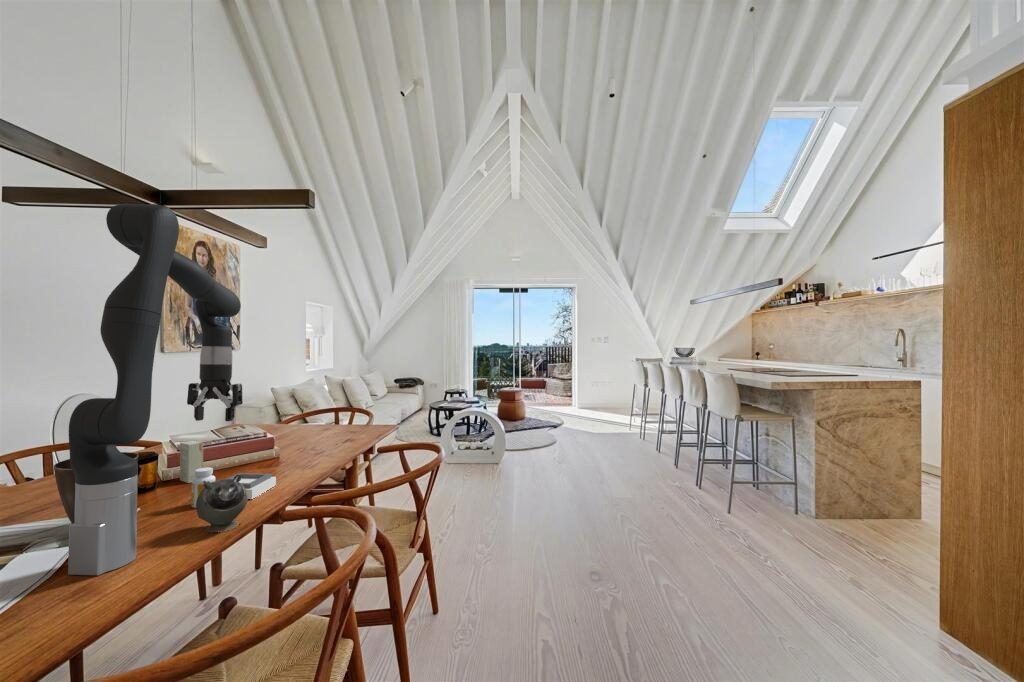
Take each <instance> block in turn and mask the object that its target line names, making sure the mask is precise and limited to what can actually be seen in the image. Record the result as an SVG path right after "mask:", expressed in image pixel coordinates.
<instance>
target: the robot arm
mask: <svg viewBox="0 0 1024 682" xmlns="http://www.w3.org/2000/svg"><path fill="white" fill-rule="evenodd" d="M105 220H106V226H107V229H108V231H109V233H110V234H111V236H112V237H113V238H114V239H115V240H116V241H117V242H118V243H119V244H121V245H122V246H123V247H126V248H127V249H128V250H129V251H132V252H133V253H134V254H136V255H138V256H139V257H138V259H137V262H136V264H135V265H134V266H133V268H132V269H131V270H130V272H129V273H128V274H127V275H126V276H125V277H124V278H123V280H122V281H120V282H119V283H118V285H116V287H115V288H113V290H112V291H111V293H110V294H109V295H108V297H107V298H106V300H105V304H104V305H103V306H104V307H103V312H102V317H101V321H100V336H101V340H102V342H103V345H104V346H105V348H106V351H107V352H108V354H109V356H110V358H111V359H112V362H113V364H114V367H115V370H116V374H117V375H116V376H117V379H116V382H117V384H116V391H115V392H116V393H115V397H114V398H113V397H107V398H106V397H95V398H88V399H86V400H84V401H82V402H80V403H79V404H77V405H76V406H75V408H74V410H73V411H72V412H71V416H70V418H69V422H68V447H69V448H68V449H69V450H68V451H69V459H70V465H71V469H72V471H73V472H74V474H75V482H76V483H75V523H73V524H72V523H71V524H70V525H69V526H68V559H67V561H68V568H67V574H68V575H73V576H74V575H75V576H100V575H102V574H104V573H107V572H110V571H114V570H116V569H119V568H122V567H124V566H126V565H129V564H130V563H132V561H134V560H135V559H136V558H137V541H138V540H137V536H138V535H137V531H138V530H137V528H138V527H137V526H138V524H137V523H138V521H137V520H138V481H139V480H138V476H139V475H138V472H139V464H138V463H139V462H138V463H137V461H136V460H135V459H133V458H131V457H128V456H126V455H124V454H123V453H121V452H122V451H120V450H119V449H118V447H117V446H123V445H132V444H133V445H134V444H135V443H137V442H139V440H140V439H142V438H143V437H144V435H145V433H146V431H147V429H148V428H149V423H150V418H151V412H152V411H151V410H152V409H151V407H152V390H153V389H152V386H153V385H152V383H153V369H154V359H155V354H156V348H157V342H158V337H159V330H160V325H161V319H162V312H163V304H164V303H163V302H164V298H165V291H166V286H167V282H168V277H169V278H170V280H171V279H172V281H174V282H175V283H176V284H177V285H178V286H179V287H180V288H181V289H182V290H183V291H184V292H185V293H187V295H188V296H189V297H191V298H192V299H193V300H195V302H194V303H195V304H194V305H195V311H196V314H197V317H198V322H199V325H200V329H201V336H202V337H201V349H200V353H199V354H200V355H199V379H200V383H199V382H193V383H192V382H191V383H189V384H188V387H187V398H186V399H187V400H186V405H188V406H190V405H191V406H193V408H194V411H193V413H194V414H193V418H194V420H195V421H196V422H197V421H198V422H199V421H203V420H204V419H205V418H204V416H205V404H206V403H207V402H208V401H209V400H213V399H214V400H220V401H221V402H222V403H223V404H224V405H225V407H226V408H225V412H224V413H225V416H224V417H225V419H224V420H225V422H232V421H233V420H234V419H235V412H236V407H238V406H241V405H243V384H242V383H233V384H232V383H231V381H232V377H233V376H232V375H233V349H232V347H233V346H232V344H233V330H232V328H231V327H229V326H227V325H222V324H219V323H218V321H217V318H233V317H235V316H236V315H238V314H239V313H240V311H241V309H242V308H241V307H242V306H241V301H240V298H239V297H238V296H237V294H236V293H235V292H234V291H232V290H231V289H230V288H228V287H227V286H225V285H224V284H221V283H220V282H218V281H216V280H215V279H214V278H213V277H212V276H211V274H210V273H209V272H208V271H207V270H206V269H205V268H204V267H203V266H201V265H200V264H199V263H198V262H196V261H194V260H193V259H191V258H190V257H188V256H186V255H184V254H182V253H180V252H178V251H176V248H177V244H178V241H179V234H180V223H179V220H178V217H177V215H176V213H175V212H174V211H173V209H171V208H169V207H167V206H166V205H160V204H146V203H145V204H142V203H139V204H138V203H121V204H116V205H114V206H112V207H110V209H109V210H108V212H107V213H106V218H105ZM199 391H200V393H199ZM230 391H231V392H232V393H231V392H230Z"/></svg>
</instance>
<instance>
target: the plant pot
mask: <svg viewBox="0 0 1024 682" xmlns="http://www.w3.org/2000/svg"><path fill="white" fill-rule="evenodd" d="M120 452H121V453H123V454H124V455H126V456H128V457H131V458H133V459H135V460H136V461H137V463H139V456H140V455H139V454H138V453H135V452H130V451H129V452H127V451H126V452H124V451H120ZM53 472H54V476H55V482H56V486H57V490H58V494H59V498H60V500H61V503H62V506H63V508H64V511H65V513H66V515H67V517H68V520H69V522H70V523H71V524H73V523H75V483H76V482H75V474H74V472H73V471H72V469H71V465H70V458H69V459H65V460H62V461H59V462H57V463H55V464H54V465H53Z"/></svg>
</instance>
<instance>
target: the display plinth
mask: <svg viewBox="0 0 1024 682" xmlns="http://www.w3.org/2000/svg"><path fill="white" fill-rule="evenodd" d="M236 475H240V476H241V480H240V481H239V482H240V483H241V484H242V485H243V486H244V487H245V489H246V492H247V499H253V498H255V497H257V496H258V497H260V496H262V495H263V494H262V493H264V492H265V493H267V492H268V491H267V490H269V489H270V488H272V487H274V486H275V485H276V486H277V476H272V473H256V472H255V473H250V472H244V473H243V472H239V473H236V474H234V475H231V476H230V477H227V478H226V479H234V477H235V476H236ZM274 488H275V487H274ZM272 489H273V488H272ZM266 491H267V492H266ZM269 491H270V490H269ZM265 493H264V494H265ZM261 494H262V495H261ZM259 495H260V496H259ZM258 497H257V498H258ZM255 499H256V498H255ZM253 500H254V499H253Z"/></svg>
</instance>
